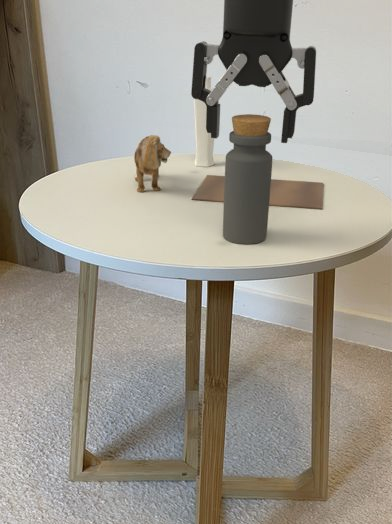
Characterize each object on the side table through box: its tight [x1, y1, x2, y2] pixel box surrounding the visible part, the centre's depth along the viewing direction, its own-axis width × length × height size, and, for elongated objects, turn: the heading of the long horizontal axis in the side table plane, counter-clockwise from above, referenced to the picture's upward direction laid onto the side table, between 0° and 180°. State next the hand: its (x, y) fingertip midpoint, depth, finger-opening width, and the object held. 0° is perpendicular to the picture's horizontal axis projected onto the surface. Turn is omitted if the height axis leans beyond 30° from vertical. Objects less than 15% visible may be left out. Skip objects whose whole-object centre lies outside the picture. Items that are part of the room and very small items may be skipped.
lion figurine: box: [133, 134, 172, 193], centre depth 97 cm, size 15×5×9 cm, turn 13°
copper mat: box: [191, 174, 324, 210], centre depth 97 cm, size 20×14×1 cm
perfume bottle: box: [193, 75, 215, 168], centre depth 108 cm, size 5×4×15 cm
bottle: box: [222, 113, 273, 245], centre depth 76 cm, size 6×6×15 cm
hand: (249, 139), depth 73 cm, fingers open, 8 cm apart
